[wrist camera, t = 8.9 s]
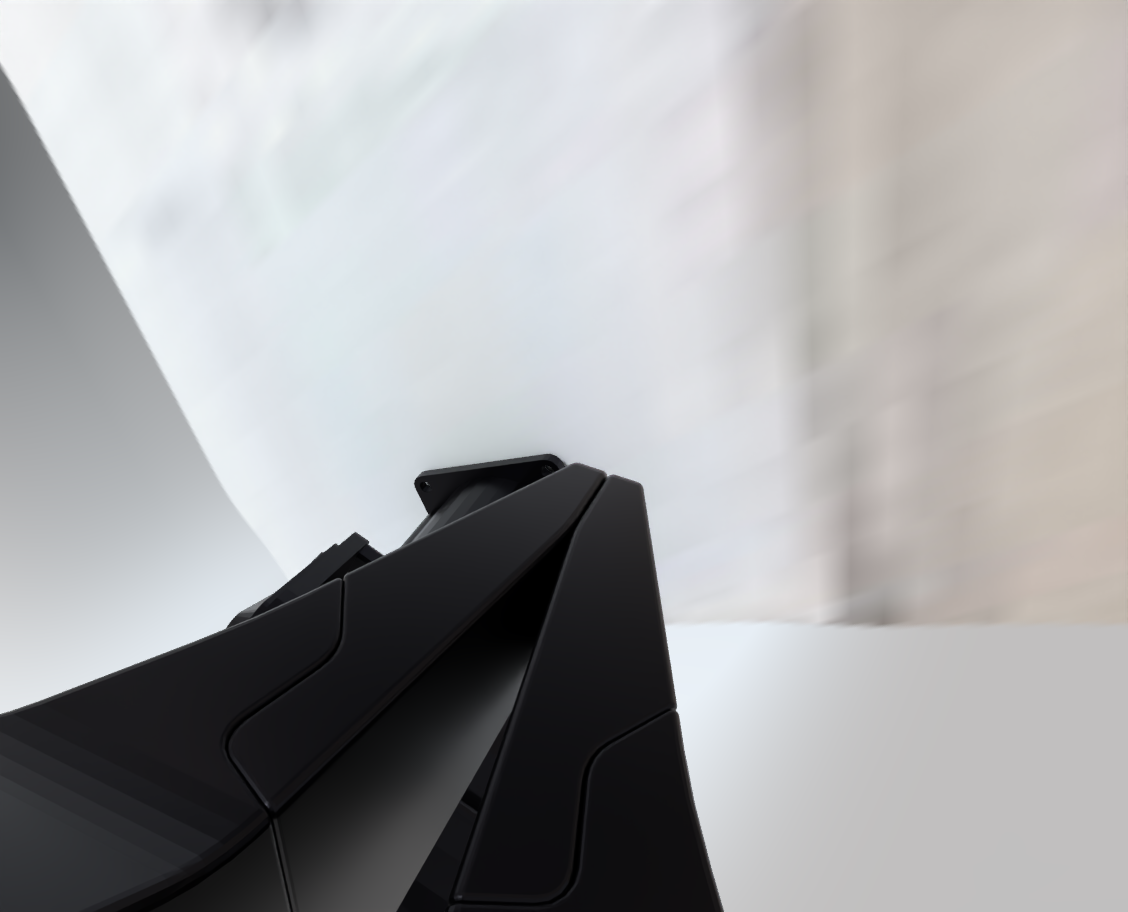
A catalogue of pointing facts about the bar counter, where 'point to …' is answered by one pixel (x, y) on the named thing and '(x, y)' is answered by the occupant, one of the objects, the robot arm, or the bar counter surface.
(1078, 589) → the bar counter surface
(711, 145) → the bar counter surface
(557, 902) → the robot arm
